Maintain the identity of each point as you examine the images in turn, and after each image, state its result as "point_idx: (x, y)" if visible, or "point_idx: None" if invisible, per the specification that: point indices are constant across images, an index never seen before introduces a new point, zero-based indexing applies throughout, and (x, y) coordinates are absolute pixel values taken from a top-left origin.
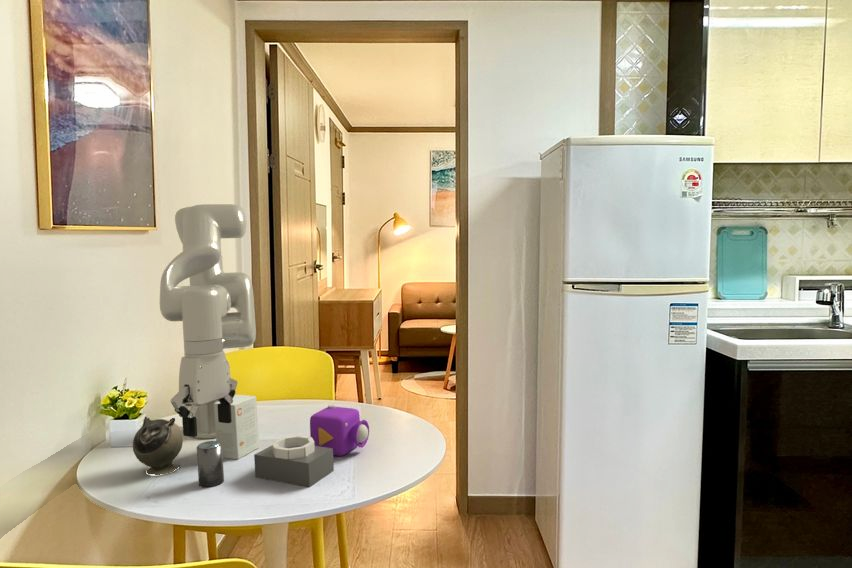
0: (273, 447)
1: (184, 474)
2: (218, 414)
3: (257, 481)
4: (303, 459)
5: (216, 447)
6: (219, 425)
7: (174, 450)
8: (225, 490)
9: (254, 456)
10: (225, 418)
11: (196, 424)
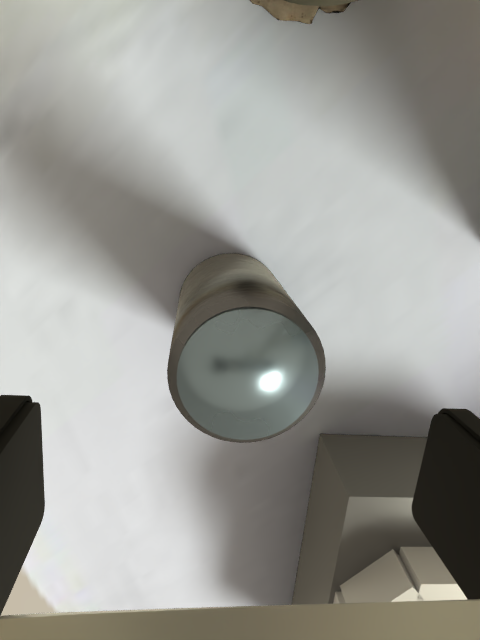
0: (375, 601)
1: (277, 106)
2: (474, 457)
3: (288, 461)
4: None
5: (232, 435)
6: None
7: (299, 2)
8: None
9: (346, 491)
10: (436, 509)
11: (1, 604)
